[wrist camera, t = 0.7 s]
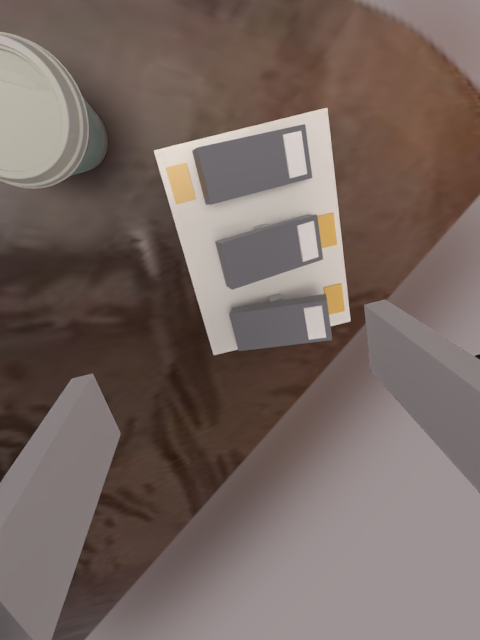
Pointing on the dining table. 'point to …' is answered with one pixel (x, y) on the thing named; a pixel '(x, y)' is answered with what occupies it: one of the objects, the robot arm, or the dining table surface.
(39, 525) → the robot arm
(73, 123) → the coffee cup
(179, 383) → the dining table surface
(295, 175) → the switch
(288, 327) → the switch
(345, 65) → the dining table surface
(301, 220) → the switch
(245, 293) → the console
